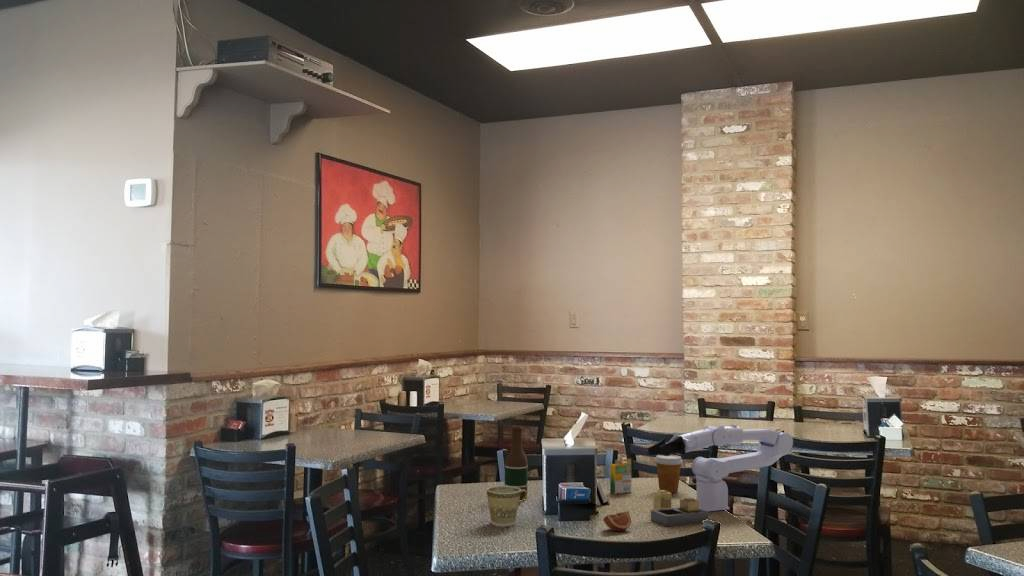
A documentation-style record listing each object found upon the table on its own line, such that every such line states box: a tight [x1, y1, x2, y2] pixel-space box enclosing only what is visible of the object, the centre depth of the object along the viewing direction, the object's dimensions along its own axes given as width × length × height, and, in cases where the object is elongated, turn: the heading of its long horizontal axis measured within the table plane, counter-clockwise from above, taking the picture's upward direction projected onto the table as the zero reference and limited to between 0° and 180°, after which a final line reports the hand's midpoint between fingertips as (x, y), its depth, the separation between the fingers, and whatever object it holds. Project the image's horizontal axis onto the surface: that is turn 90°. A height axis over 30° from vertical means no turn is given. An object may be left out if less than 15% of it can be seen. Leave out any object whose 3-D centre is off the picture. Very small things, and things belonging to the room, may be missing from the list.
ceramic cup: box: [486, 485, 528, 528], centre depth 232 cm, size 13×10×10 cm
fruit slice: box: [603, 510, 632, 532], centre depth 226 cm, size 8×7×5 cm
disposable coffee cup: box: [654, 454, 683, 494], centre depth 279 cm, size 10×10×12 cm
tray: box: [650, 496, 710, 528], centre depth 237 cm, size 15×8×6 cm, turn 114°
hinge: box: [596, 479, 611, 506], centre depth 264 cm, size 17×5×10 cm, turn 22°
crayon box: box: [609, 458, 632, 495], centre depth 276 cm, size 7×3×12 cm, turn 120°
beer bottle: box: [504, 425, 529, 500], centre depth 264 cm, size 8×8×24 cm
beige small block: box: [652, 489, 672, 510], centre depth 249 cm, size 4×4×6 cm
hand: (654, 450), depth 247 cm, fingers open, 7 cm apart
